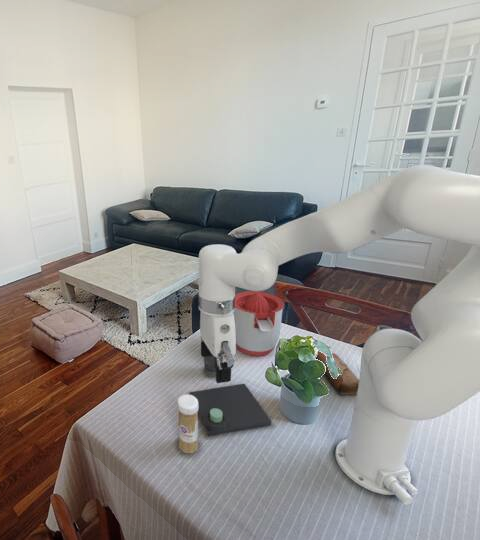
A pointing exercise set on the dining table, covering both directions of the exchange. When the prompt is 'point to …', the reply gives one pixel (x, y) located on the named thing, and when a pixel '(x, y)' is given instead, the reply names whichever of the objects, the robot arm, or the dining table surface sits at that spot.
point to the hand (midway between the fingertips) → (214, 367)
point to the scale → (230, 409)
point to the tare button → (216, 415)
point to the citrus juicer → (257, 322)
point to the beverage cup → (211, 365)
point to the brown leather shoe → (341, 376)
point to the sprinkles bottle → (188, 423)
